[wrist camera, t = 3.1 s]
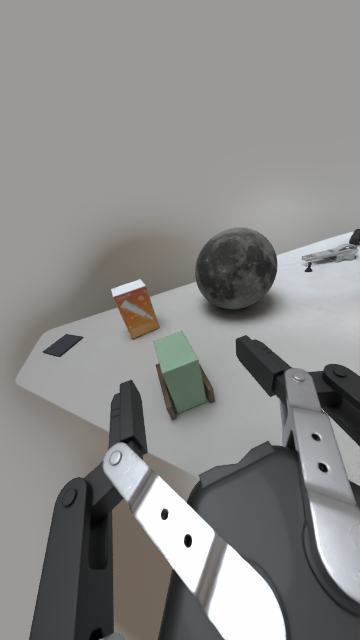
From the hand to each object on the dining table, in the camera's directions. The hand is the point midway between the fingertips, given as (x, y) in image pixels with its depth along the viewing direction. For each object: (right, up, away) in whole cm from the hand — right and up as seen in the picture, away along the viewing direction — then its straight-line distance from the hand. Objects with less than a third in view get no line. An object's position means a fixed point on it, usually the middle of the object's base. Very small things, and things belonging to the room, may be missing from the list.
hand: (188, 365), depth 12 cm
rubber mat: (-35, -4, +38) cm, 52 cm away
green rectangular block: (0, -9, +18) cm, 20 cm away
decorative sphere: (+15, +8, +38) cm, 42 cm away
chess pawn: (+43, +20, +46) cm, 66 cm away
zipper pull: (+53, +25, +49) cm, 76 cm away
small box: (-11, +1, +37) cm, 38 cm away
